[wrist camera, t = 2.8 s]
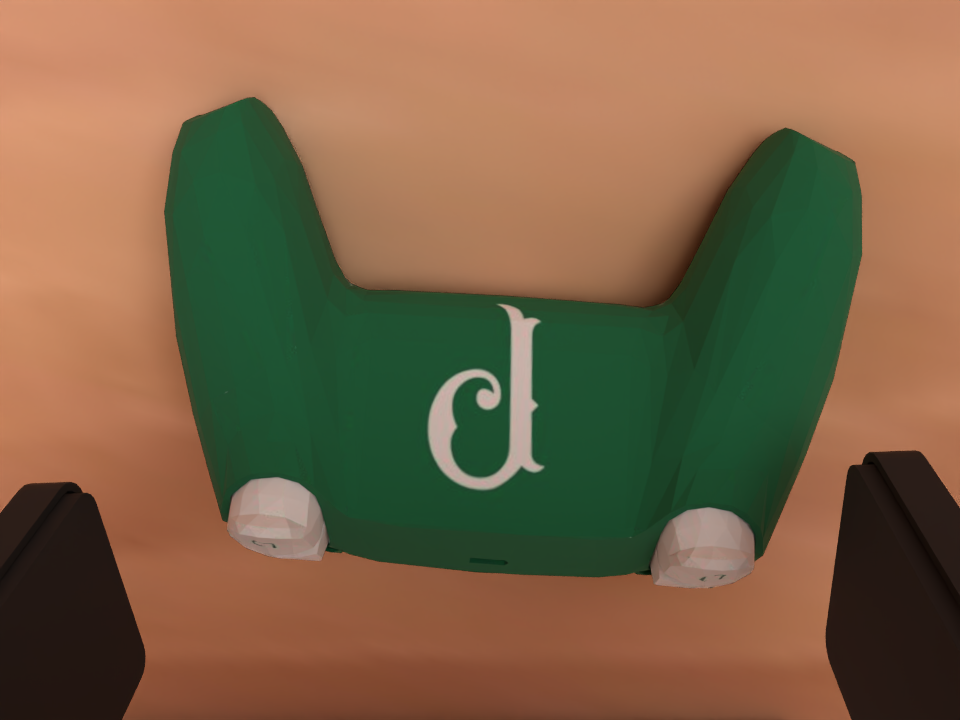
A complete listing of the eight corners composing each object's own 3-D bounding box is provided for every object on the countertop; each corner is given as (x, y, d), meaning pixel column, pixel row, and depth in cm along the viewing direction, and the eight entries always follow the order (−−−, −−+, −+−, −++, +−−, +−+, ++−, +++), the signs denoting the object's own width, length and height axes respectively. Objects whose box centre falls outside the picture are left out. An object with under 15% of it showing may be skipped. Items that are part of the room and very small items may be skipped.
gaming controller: (241, 198, 16) (184, 558, 14) (165, 67, 12) (76, 532, 10) (786, 231, 15) (796, 602, 14) (879, 108, 12) (907, 593, 10)
